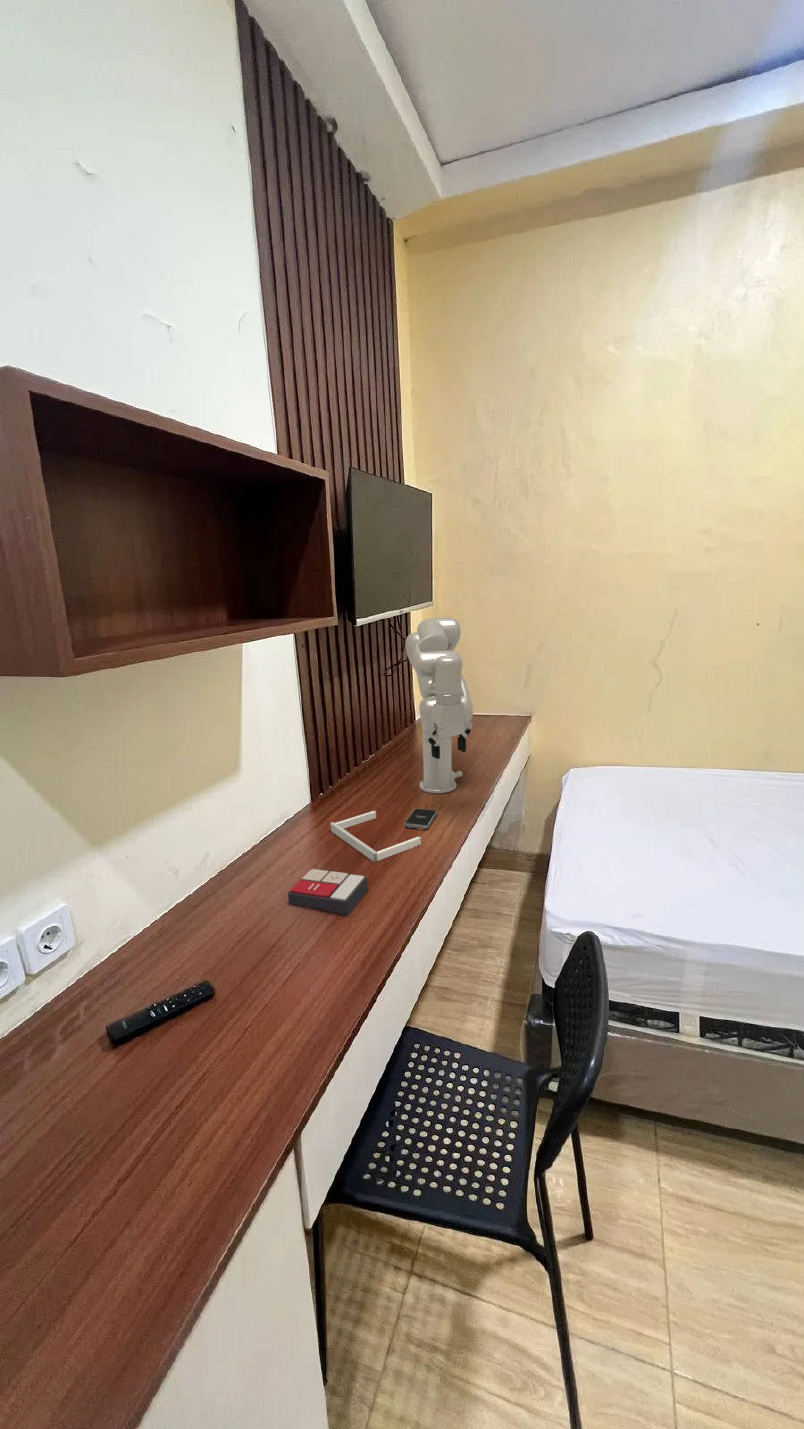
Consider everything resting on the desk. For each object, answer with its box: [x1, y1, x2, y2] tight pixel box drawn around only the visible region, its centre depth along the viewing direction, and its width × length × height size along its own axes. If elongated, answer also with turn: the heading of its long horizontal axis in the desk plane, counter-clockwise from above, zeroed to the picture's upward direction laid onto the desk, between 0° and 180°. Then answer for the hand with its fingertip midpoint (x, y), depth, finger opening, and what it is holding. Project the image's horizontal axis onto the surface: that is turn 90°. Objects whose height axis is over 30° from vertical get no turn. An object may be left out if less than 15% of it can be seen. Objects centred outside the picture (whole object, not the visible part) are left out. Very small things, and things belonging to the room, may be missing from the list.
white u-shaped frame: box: [329, 810, 422, 863], centre depth 157 cm, size 15×23×2 cm, turn 36°
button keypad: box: [287, 868, 369, 916], centre depth 129 cm, size 11×4×15 cm
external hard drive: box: [404, 808, 438, 831], centre depth 166 cm, size 7×11×2 cm, turn 162°
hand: (449, 754), depth 168 cm, fingers open, 9 cm apart
